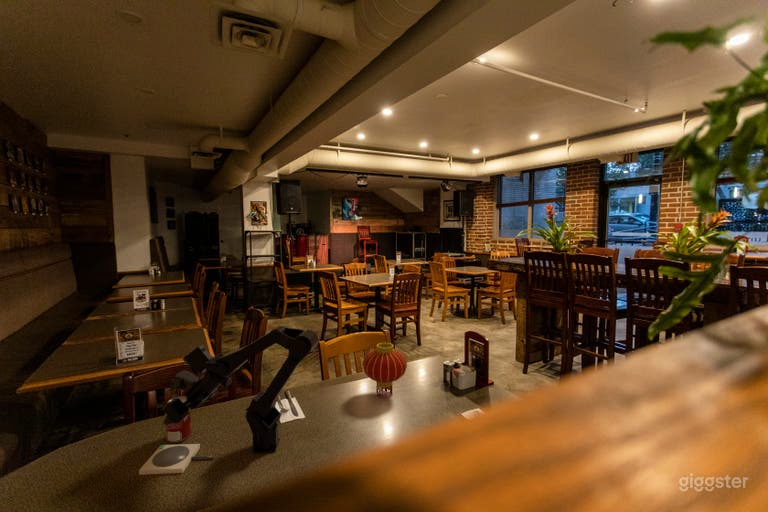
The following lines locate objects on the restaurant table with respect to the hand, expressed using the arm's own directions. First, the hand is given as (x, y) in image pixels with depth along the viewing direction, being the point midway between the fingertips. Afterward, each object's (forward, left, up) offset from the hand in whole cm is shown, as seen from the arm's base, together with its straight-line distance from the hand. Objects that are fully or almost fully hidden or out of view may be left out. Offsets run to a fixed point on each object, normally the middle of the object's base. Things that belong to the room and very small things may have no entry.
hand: (175, 415), depth 112 cm
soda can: (-1, 0, -7) cm, 7 cm away
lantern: (-67, -25, -7) cm, 72 cm away
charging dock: (-7, +11, -7) cm, 15 cm away
